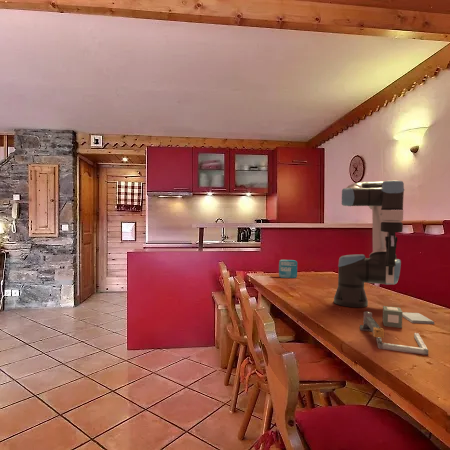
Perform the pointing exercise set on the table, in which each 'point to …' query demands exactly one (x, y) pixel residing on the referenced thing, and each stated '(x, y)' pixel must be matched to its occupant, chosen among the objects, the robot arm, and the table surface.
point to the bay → (403, 348)
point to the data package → (288, 268)
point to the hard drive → (417, 318)
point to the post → (365, 326)
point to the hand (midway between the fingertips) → (389, 282)
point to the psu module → (392, 316)
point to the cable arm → (375, 327)
